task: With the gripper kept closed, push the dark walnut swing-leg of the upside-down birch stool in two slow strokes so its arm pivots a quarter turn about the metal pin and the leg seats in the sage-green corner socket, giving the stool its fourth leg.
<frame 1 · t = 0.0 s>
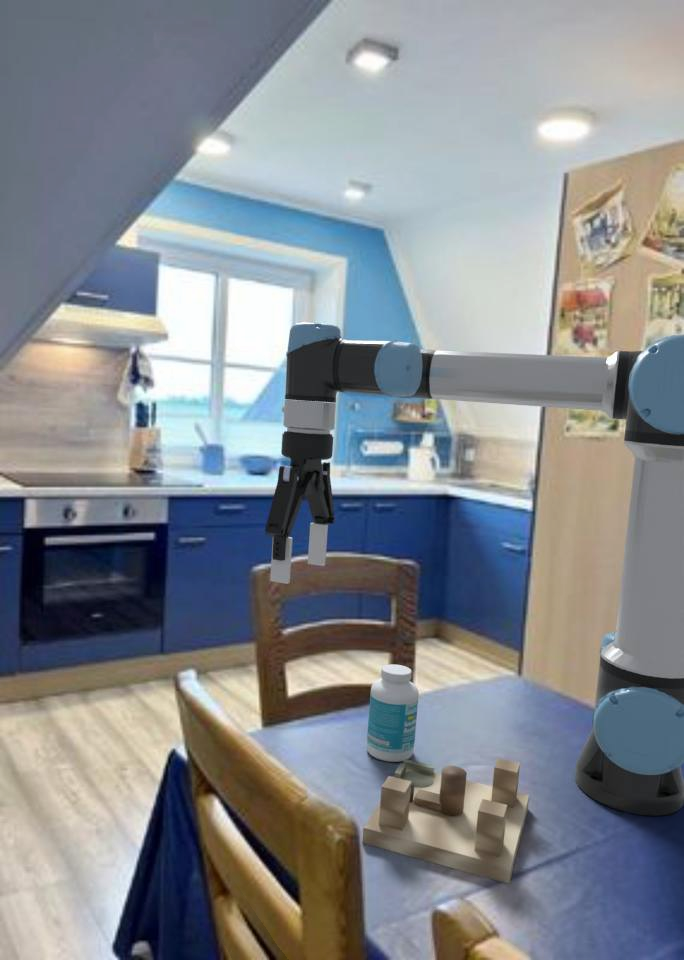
hand: (299, 573, 114), 28 cm above the table, fingers open, 13 cm apart
pill bottle: (389, 753, 119), on the table
stool seat: (449, 825, 100), on the table
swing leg: (440, 787, 100), point 5 cm above the table, hinge at 0.0°
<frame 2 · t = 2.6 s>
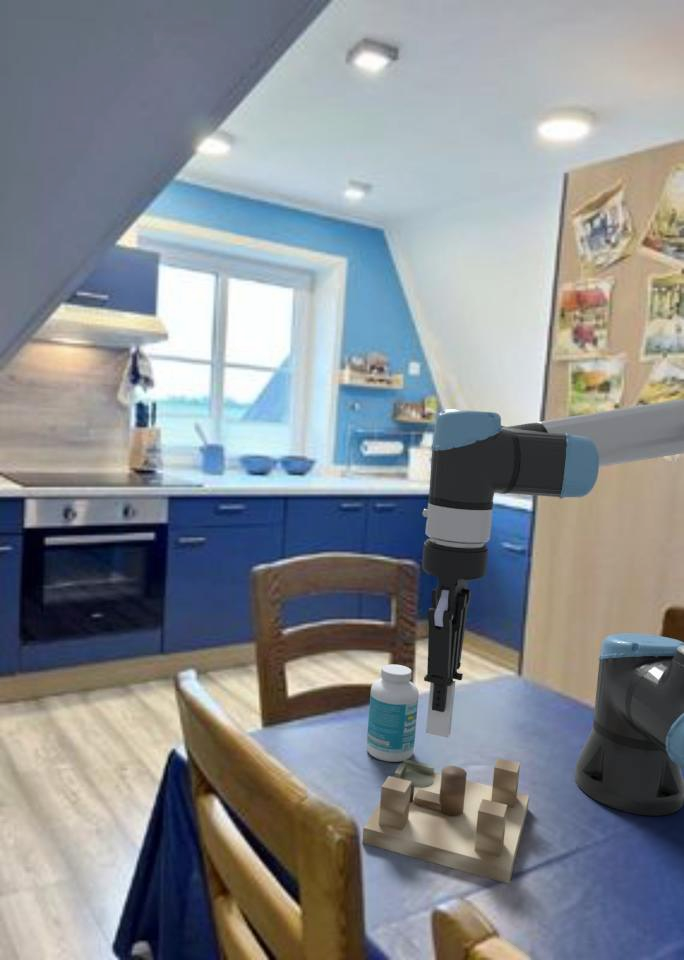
hand: (438, 732, 92), 15 cm above the table, fingers closed
nothing on the table moved.
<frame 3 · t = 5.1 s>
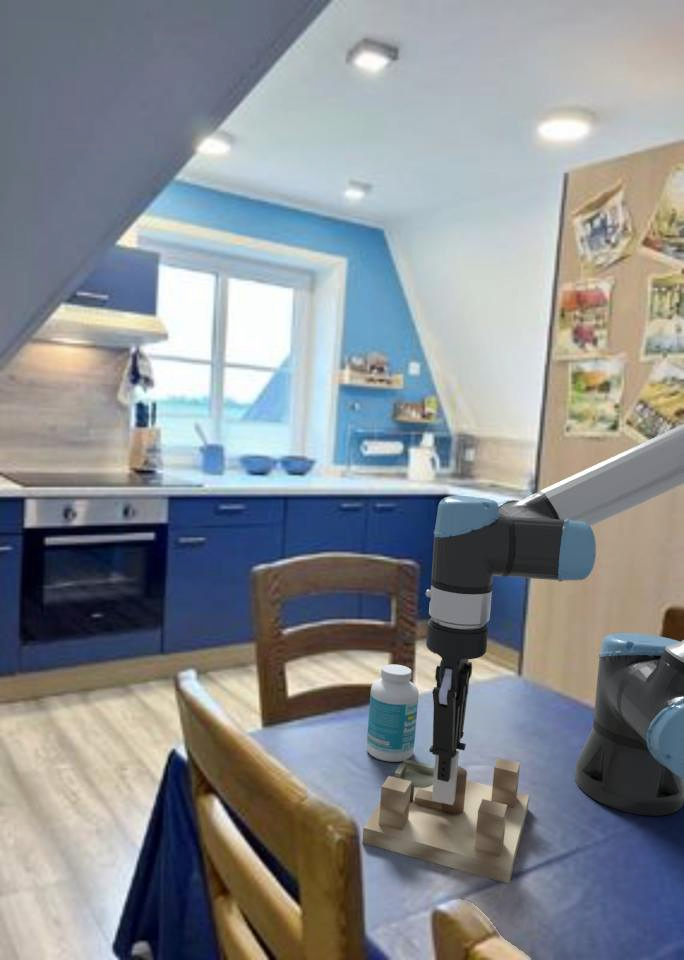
hand: (443, 799, 98), 4 cm above the table, fingers closed
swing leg: (441, 786, 100), point 5 cm above the table, hinge at 2.5°, touching gripper
everything else where it was.
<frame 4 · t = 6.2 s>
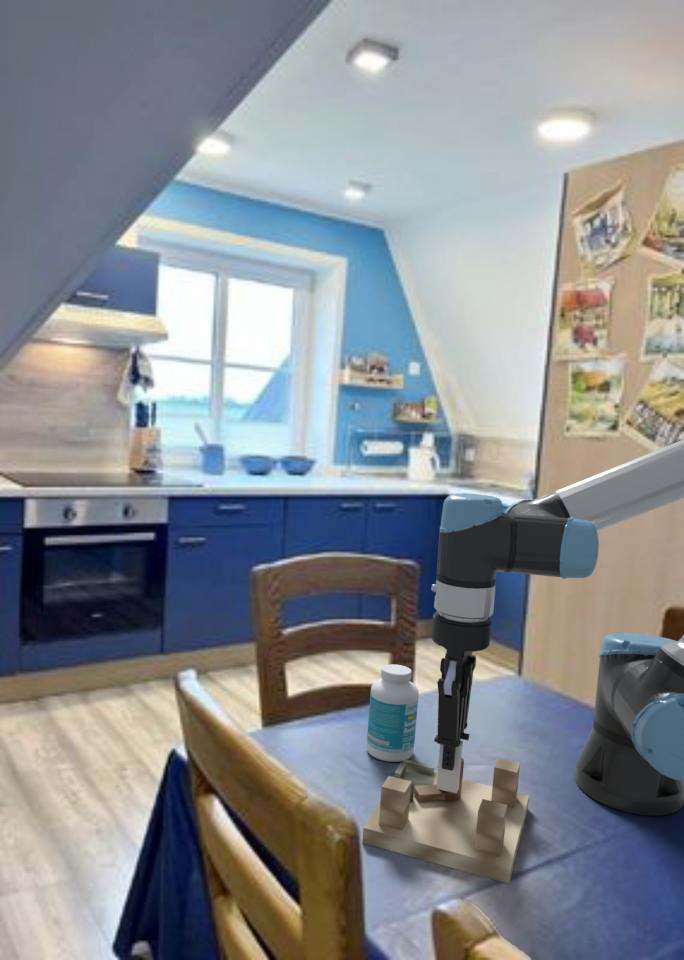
hand: (447, 788, 100), 4 cm above the table, fingers closed
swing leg: (439, 777, 102), point 5 cm above the table, hinge at 33.7°, touching gripper
everything else where it was.
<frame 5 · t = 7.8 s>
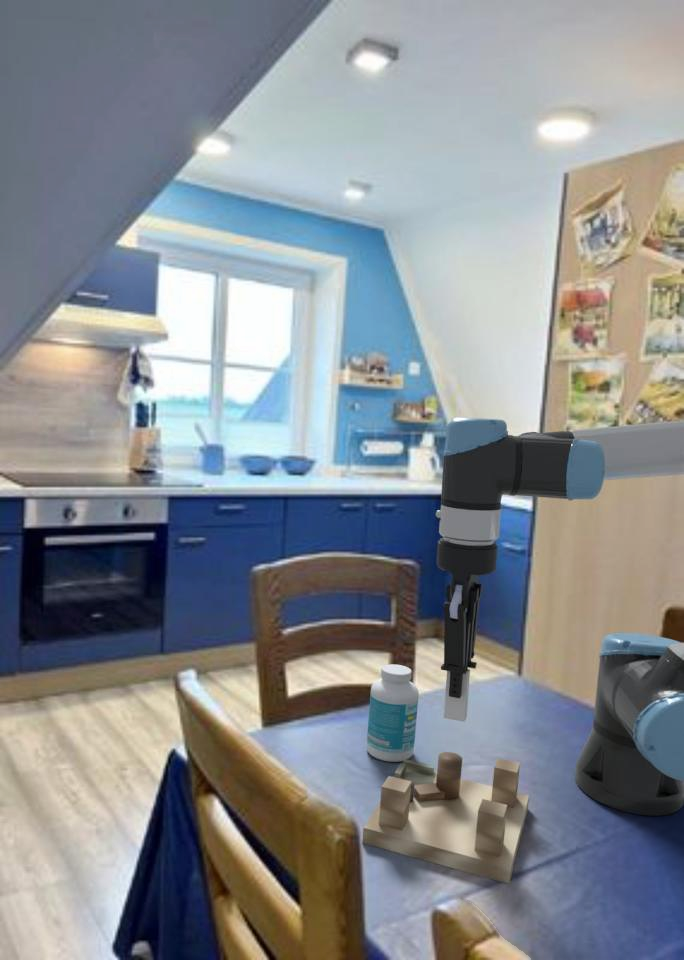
hand: (455, 717, 99), 14 cm above the table, fingers closed
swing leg: (438, 776, 103), point 5 cm above the table, hinge at 38.7°
everything else where it was.
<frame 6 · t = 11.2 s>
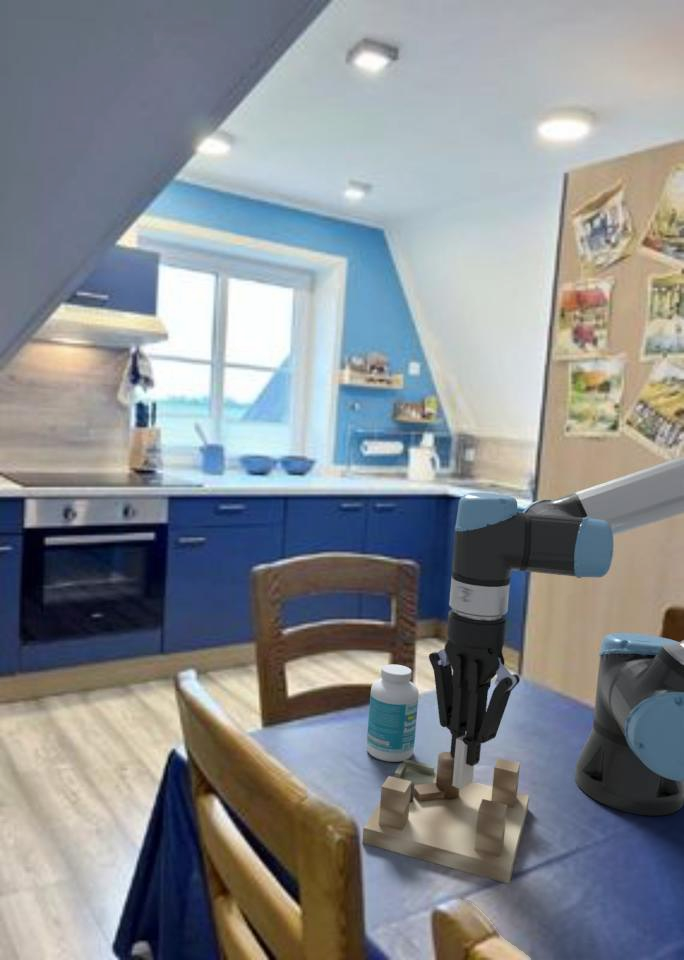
hand: (462, 784, 102), 4 cm above the table, fingers closed
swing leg: (438, 776, 103), point 5 cm above the table, hinge at 39.3°, touching gripper
everything else where it was.
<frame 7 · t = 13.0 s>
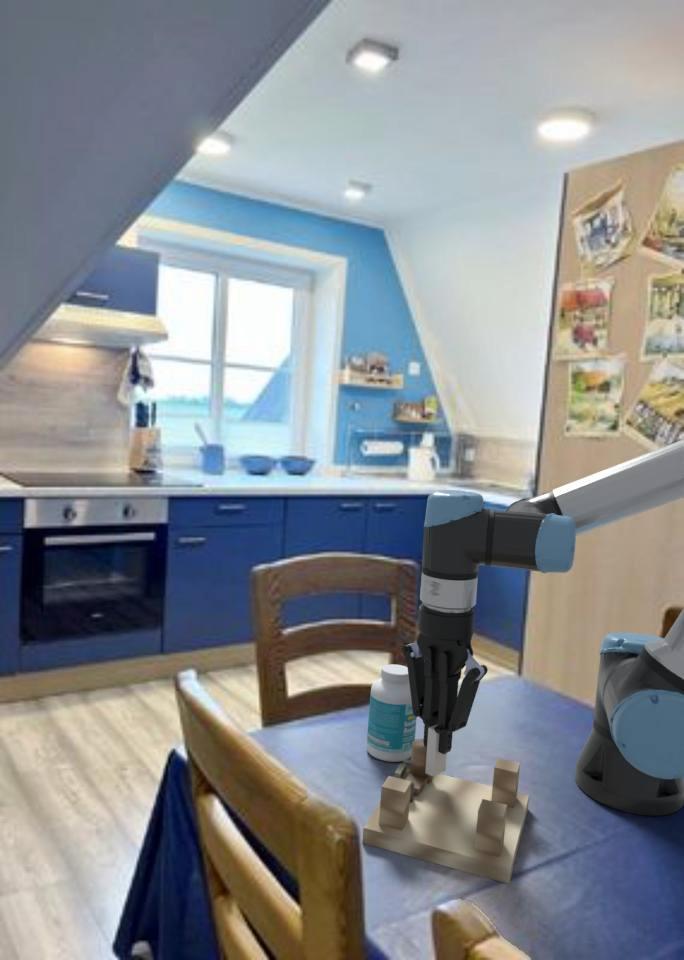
hand: (435, 771, 105), 4 cm above the table, fingers closed
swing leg: (418, 765, 105), point 5 cm above the table, hinge at 86.0°, touching gripper
everything else where it was.
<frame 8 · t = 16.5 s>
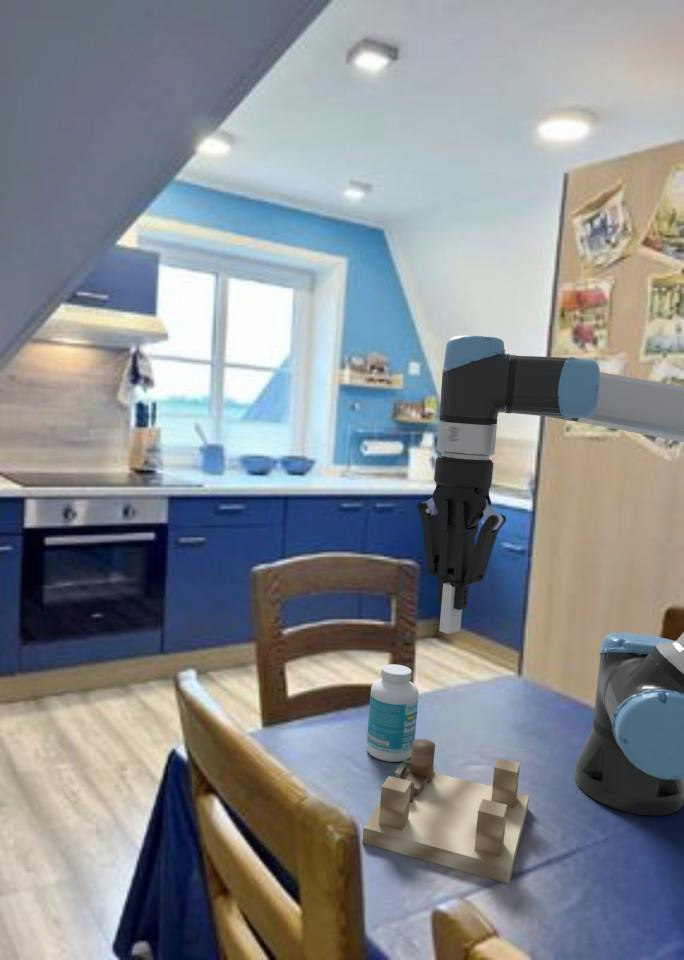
hand: (449, 630, 102), 24 cm above the table, fingers closed
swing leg: (418, 765, 105), point 5 cm above the table, hinge at 86.3°
everything else where it was.
at the end: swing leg at +86° (first picture: +0°); the gripper is holding nothing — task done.
